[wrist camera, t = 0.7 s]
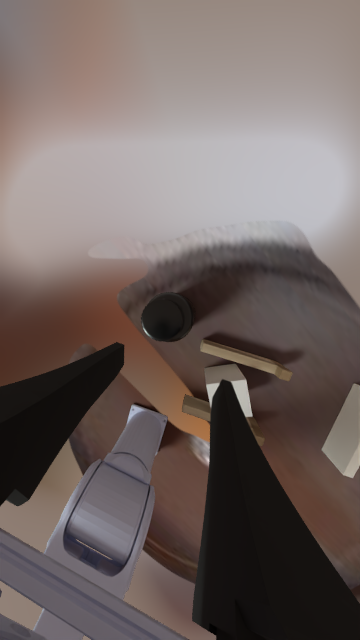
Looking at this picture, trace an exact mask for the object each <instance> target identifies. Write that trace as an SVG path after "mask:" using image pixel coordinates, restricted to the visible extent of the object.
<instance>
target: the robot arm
mask: <svg viewBox="0 0 360 640" xmlns="http://www.w3.org/2000/svg"><path fill="white" fill-rule="evenodd" d="M123 365H124V345H123V344H120V343H118V342H116V343H114V344H112V345H110V346H108V347H106V348H104V349H102V350H99V351H97V352H95V353H93V354H91V355H89V356H87V357H84V358H82V359H80V360H77V361H75V362H73V363H70V364H68V365H66V366H63V367H61V368H58V369H55V370H53V371H50V372H47V373H44V374H41V375H38V376H35V377H32V378H29V379H25V380H22V381H19V382H15V383H12V384H8V385H5V386H1V387H0V506H1V505H2V504H3V503H4V501H5V500H7V501H9V502H10V503H12V504H14V505H16V506H20V505H22V504H23V503H25V502H26V501H28V500H29V499H30V497H31V496H32V494H33V493H34V491H35V489H36V488H37V486H38V484H39V483H40V481H41V480H42V478H43V476H44V475H45V473H46V472H47V470H48V468H49V467H50V465H51V464H52V462H53V461H54V459H55V458H56V456H57V455H58V453H59V451H60V450H61V448H62V447H63V445H64V444H65V442H66V441H67V440H68V438H69V437H70V435H71V434H72V432H73V431H74V429H75V428H76V426H77V425H78V424H79V422H80V421H81V419H82V418H83V417H84V415H85V414H86V412H87V411H88V410H89V409H90V407H91V406H92V405H93V404H94V402H95V401H96V400H97V399H98V398H99V397H100V395H101V394H102V393H103V392H104V391H105V389H106V388H107V387H108V386H109V385H110V384H111V382H112V381H113V380H114V379H115V377H116V376H117V375H118V373H119V372H120V370H121V368H122V367H123ZM167 419H168V417H167V416H166V415H163V414H160V413H157V412H155V411H152V410H149V409H146V408H143V407H141V406H138V405H135V404H133V405H132V406H131V410H130V414H129V418H128V421H127V425H126V427H125V429H124V431H123V432H122V434H121V436H120V438H119V439H118V441H117V443H116V444H115V446H114V448H113V450H112V451H111V453H108V454H107V456H106V457H105V459H104V461H102V460H101V459H98V460H97V461H96V462H94V463H92V464H91V466H90V467H89V468H88V469H87V471H86V472H85V474H84V475H83V477H82V478H81V480H80V482H79V484H78V485H77V487H76V488H75V490H74V492H73V494H72V495H71V497H70V499H69V501H68V503H67V505H66V507H65V509H64V511H63V513H62V515H61V518H60V520H59V522H58V524H57V526H56V528H55V530H54V531H53V533H52V535H51V537H50V539H49V540H48V542H47V548H46V550H45V552H44V554H43V553H42V552H40V551H38V550H37V549H35V548H33V547H32V546H30V545H28V544H26V543H25V542H23V541H21V540H20V539H18V538H16V537H15V536H13V535H11V534H10V533H8V532H6V531H5V530H3V529H1V528H0V581H2V582H3V583H5V584H6V585H8V586H10V587H11V588H13V589H14V590H16V591H17V592H19V593H20V594H22V595H23V596H25V597H27V598H28V599H30V600H31V601H33V602H34V603H36V604H37V605H39V606H40V607H42V608H43V610H42V613H41V615H40V617H39V619H38V621H37V623H36V625H35V627H34V629H33V631H32V630H30V629H28V628H26V627H24V626H22V625H20V624H19V623H17V622H15V621H13V620H11V619H9V618H7V617H5V616H3V615H1V614H0V640H82V639H83V636H84V635H85V636H87V637H88V638H90V639H91V640H189V639H187V638H186V637H184V636H182V635H181V634H179V633H177V632H175V631H174V630H172V629H170V628H169V627H167V626H165V625H164V624H162V623H160V622H158V621H157V620H155V619H153V618H152V617H150V616H148V615H147V614H145V613H143V612H142V611H140V610H138V609H137V608H135V607H133V606H131V605H130V604H128V603H126V602H124V601H123V599H124V596H125V593H126V592H127V591H128V589H129V586H130V582H131V579H132V576H133V573H134V569H135V566H136V563H137V561H138V559H139V556H140V554H141V551H142V548H143V545H144V542H145V539H146V535H147V532H148V528H149V524H150V521H151V516H152V512H153V507H154V502H155V492H154V487H153V486H152V485H149V484H150V480H151V477H152V474H150V472H151V469H152V465H153V461H154V458H155V455H157V452H158V449H159V446H160V442H161V439H162V436H163V433H164V429H165V426H166V423H167ZM164 420H165V421H164ZM76 539H77V540H79V541H81V542H83V543H84V544H86V545H88V546H90V547H91V548H93V549H95V550H97V551H99V552H100V553H102V554H104V555H106V556H108V557H109V558H111V559H113V560H110V559H108V558H106V557H105V556H103V555H101V554H99V553H97V552H96V551H94V550H92V549H90V548H89V547H87V546H85V545H83V544H81V543H80V542H78V541H77V540H76ZM1 593H2V591H1V590H0V597H1ZM192 621H194V622H195V623H197V624H198V625H200V626H201V627H203V628H205V629H206V630H208V631H209V632H211V633H213V634H214V635H216V640H360V603H359V602H358V601H357V599H356V598H355V596H354V595H353V594H352V592H351V591H350V589H349V588H348V586H347V585H346V583H345V582H344V581H343V579H342V578H341V576H340V575H339V573H338V572H337V571H336V569H335V568H334V566H333V565H332V563H331V562H330V561H329V559H328V558H327V556H326V555H325V553H324V552H323V550H322V549H321V547H320V546H319V544H318V543H317V541H316V540H315V538H314V537H313V535H312V534H311V532H310V531H309V529H308V528H307V526H306V525H305V523H304V521H303V520H302V518H301V517H300V515H299V513H298V512H297V510H296V509H295V507H294V505H293V504H292V502H291V501H290V499H289V497H288V496H287V494H286V492H285V491H284V489H283V488H282V486H281V484H280V483H279V481H278V479H277V477H276V476H275V474H274V472H273V470H272V469H271V467H270V465H269V463H268V461H267V460H266V458H265V456H264V454H263V452H262V450H261V448H260V446H259V444H258V442H257V440H256V438H255V436H254V434H253V432H252V430H251V428H250V426H249V424H248V421H247V419H246V417H245V415H244V412H243V410H242V408H241V405H240V403H239V400H238V398H237V395H236V393H235V390H234V387H233V385H232V382H230V381H227V380H224V379H222V380H221V382H220V384H219V386H218V388H217V390H216V392H215V393H214V395H213V397H212V405H211V413H210V462H209V474H208V485H207V495H206V504H205V514H204V522H203V531H202V539H201V547H200V554H199V562H198V570H197V577H196V584H195V591H194V600H193V614H192Z"/></svg>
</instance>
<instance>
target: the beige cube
mask: <svg viewBox="0 0 360 640" xmlns="http://www.w3.org/2000/svg"><path fill="white" fill-rule="evenodd" d="M204 370H205V379H206V386H207V391H208V396H209V402H210V407H211V405H212V397H213V395H214V393H215V392H216V390H217V388H218V386H219V384H220V382H221V380H222V379H224V380H227V381H230V382H232V385H233V387H234V390H235V393H236V395H237V398H238V400H239V403H240V405H241V408H242V410H243V412H244V415H245V417H252V411H251V405H250V399H249V393H248V387H247V382H246V379H245V377H244V376H243V374H242V372H241V371H240V369H239V368H238V366H237V365H236V363H235V364H228V365H221V366H214V367H207V368H204Z"/></svg>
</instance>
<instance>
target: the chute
mask: <svg viewBox="0 0 360 640" xmlns="http://www.w3.org/2000/svg"><path fill="white" fill-rule="evenodd" d="M200 347H201V351H202V352H205V353H208V354H212V355H215V356H218V357H221V358H225V359H228V360H231V361H234V362H237V363H241V364H244V365H247V366H250V367H253V368H257V369H260V370H263V371H266V372H269V373H273V374H275V375H276V376H277V377H278V378H280V379H283V380H286V381H289V380H290V378H291V376H292V373H293V372H291V371H290V370H288V369H287V368H285V367H284V366H283V365H281V364H280V363H278V362H277V361H274V360H271V359H267V358H264V357H261V356H258V355H254V354H251V353H248V352H244V351H241V350H238V349H235V348H231V347H228V346H225V345H221V344H218V343H215V342H212V341H208V340H205V339H202V343H201V346H200ZM182 412H184V413H187V414H190V415H193V416H195V417H198V418H201V419H204V420H207V421H210V413H211V407H210V403H209V402H207V401H204V400H201V399H198V398H195V397H192V396H189V395H186V394H185V397H184V400H183V406H182ZM246 419H247V421H248V424H249V426H250V428H251V430H252V432H253V434H254V436H255V438H256V440H257V442H258V444H259V446H262V445H263V443H264V440H265V438H264V436H263V434H262V432H261V430H260V428H259V426H258V424H257V422H256V420H255V418H254V417H246Z"/></svg>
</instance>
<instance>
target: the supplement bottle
mask: <svg viewBox="0 0 360 640" xmlns="http://www.w3.org/2000/svg"><path fill="white" fill-rule="evenodd" d="M141 320H142V321H141V323H142V327H143V329H144V331H145V332H146V334H147V335H148V336H149V337H151V338H152V339H155V340H156V341H164V342H175V341H178V340H180V339H182V338H184V337H185V336H186V335H187V334H188V333H189V332H190V330H191V328H192V326H193V323H194V320H195V308H194V306H193V304H192V303H191V301H190V300H188V299H187V298H185V297H184V296H182V295H179V294H177V293H173V292H165V293H161V294H158V295H156V296H155V297H154V298H152V299H151V300H150V302H149V303H148V305H147V306H146V307H145V309H144V310H143V313H142V317H141Z"/></svg>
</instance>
